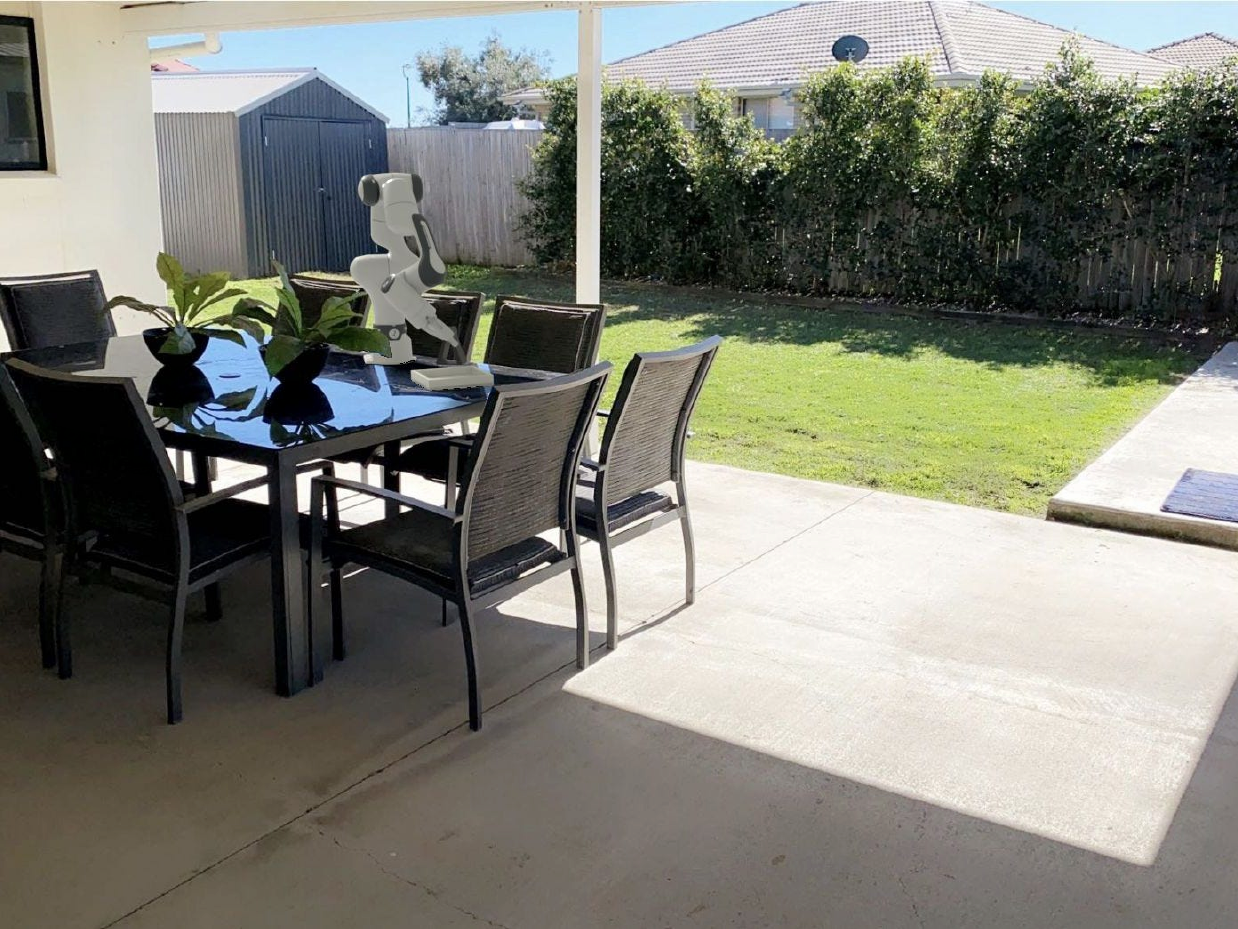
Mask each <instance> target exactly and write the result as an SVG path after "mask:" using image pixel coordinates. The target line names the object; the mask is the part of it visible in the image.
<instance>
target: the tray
mask: <svg viewBox="0 0 1238 929" xmlns="http://www.w3.org/2000/svg"><path fill="white" fill-rule="evenodd" d="M410 379H411V380H412V381H411V382H412V383H414V382H415V384H417V385H418V384H419V385H418V386H420V385H421V386H422V387H421V386H420V387H421V388H423V387H424V388H423V389H425V390H426V389H427V391H428V390H429V391H428V392H431V391H432V390H436V391H444V390H443V389H448V390H455V389H454V388H460V389H468V388H467V387H471V388H477V387H476V386H483V387H492V386H493V385H495V384H494V383H495V382H494V380H495V378H494V374H492V373H490V372H488V371H486V370H483V369H481V368H479V367H477V366H475V365H466V366H463V365H461V366H449V367H438V368H436V367H435V368H426V369H425V368H424V369H411V370H410ZM493 387H494V386H493ZM432 392H433V391H432Z"/></svg>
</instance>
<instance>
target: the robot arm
mask: <svg viewBox="0 0 1238 929" xmlns="http://www.w3.org/2000/svg"><path fill="white" fill-rule="evenodd" d="M357 189H358V191H357V192H358V196H359V198H360V200H361V202H362V203H363V205H365V206H368V207H370V236H371V239H372V241H373V242H374V243H375V244H376V245H378V246H381V247H383V248H384V249H386V250H388V253H380V254H379V253H377V254H376V253H375V254H373V253H372V254H365V255H359V256H356V257H355V258H353V260H352V261H351V264H350V268H349V269H350V270H349V272H350V276H351V278H352V279H353V282H355V283H356V284H357V285H359V286H360V287H361V288H363V290H364V291H365V292H366V293H367V294H368V297H369V299H370V301H371V304H372V306H371V307H372V311H373V312H372V313H373V323H372V330H373V329H377V330H378V331H380V332H381V333H383V334H384V335H385V336H386V337H387V338H388V340H389V342H390V347H391V352H392V358H387V357H384V356H381V355H380V354H377V353H367V354H364V355H363V360H364V362H365V364H366V365H367V364H368V365H370V364H371V365H385V366H387V365H401V364H400V363H403V364H407V363H406V362H408V361H410V360H415V361H417V360H416V359H417V357H416V356H413V347H412V339H411V338H410V336H408V334H407V332H408V331H407V330H408V329H407V328H408V327H407V323H406V320H407V321H408V322H409V323H410V324H411V325H412V326H413V327H414V328H415V329H417V330H420V329H422V330H423V331H424V332H426V333H428V335H431V336H433V337H436V338H438V339H439V340H441V341H443V340H445V341H448V342H449V343H450V346H451V347H452V346H454V347H456V346H457V345H458V342H457V341H456V340H455V339H454V338H453V336H454V332H453V331H452V330H451V329H450V328H449V327H450V326H447V324H445V323H444V322H443V321H442V320H441V319H440V318H438V316H437V314H436V312H437V309H436V307H434V306H433V305H432V304H431V303H430V302H429V301H427V299H426V298H424V297H422V296H423V294H425V293H427V292H428V291H430V290H431V289H433V288H436V287H437V286H439V285H442V284H443V283H444V282H445V281H446V278H447V267H446V265H445V262H444V260H443V258H442V256H441V255H440V252H439V250H438V246H437V244H436V241H435V238H434V235H433V232H432V229H431V226H430V224H429V222H428V219H426V217H425V216H424V215H423V214H420V212H419V210H418V205H417V204H419V203H421V201H423V199H424V196H425V195H424V194H425V185H424V182H423V179H422V178H421V176H420V175H418V174H416V173H412V172H409V173H405V172H403V173H402V172H389V173H387V172H386V173H379V174H378V173H377V174H373V173H372V174H366V175H363V176H361V178H360V179H359V184H358V188H357ZM412 236H413V237H414V239H415V242H416V244H417V247H418V251H419V254H420V255H419V257H418V256H417V255H416V254H415V253H413V251H411V250H410V249H409V246H407V243H406V241H405V238H404V237H412ZM404 362H405V363H404ZM408 363H409V362H408Z"/></svg>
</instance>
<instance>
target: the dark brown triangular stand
mask: <svg viewBox="0 0 1238 929" xmlns="http://www.w3.org/2000/svg"><path fill="white" fill-rule="evenodd" d="M448 327H449V328H450V329H451V330H452V331H453V332H454V336H453V338H454V339H455V340H456V341H457V342H458V345H457V346H456V347H454V346H452V345H451V344H450V343H449V342H448V341H445V340H442V343H441V345H440V348H439V351H438V356H437V358H436V362H435V365H436V366H463V365H464V364H466V363H467V362H468V359H467V357H466V355H465V352H464V350H463V348H462V344H461V342H460V339H459V337H458V329H457V327H456V326H448ZM450 346H451V348H452V351H453V354H454V358H455V360H447V359H448V353H449V349H450Z"/></svg>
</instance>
